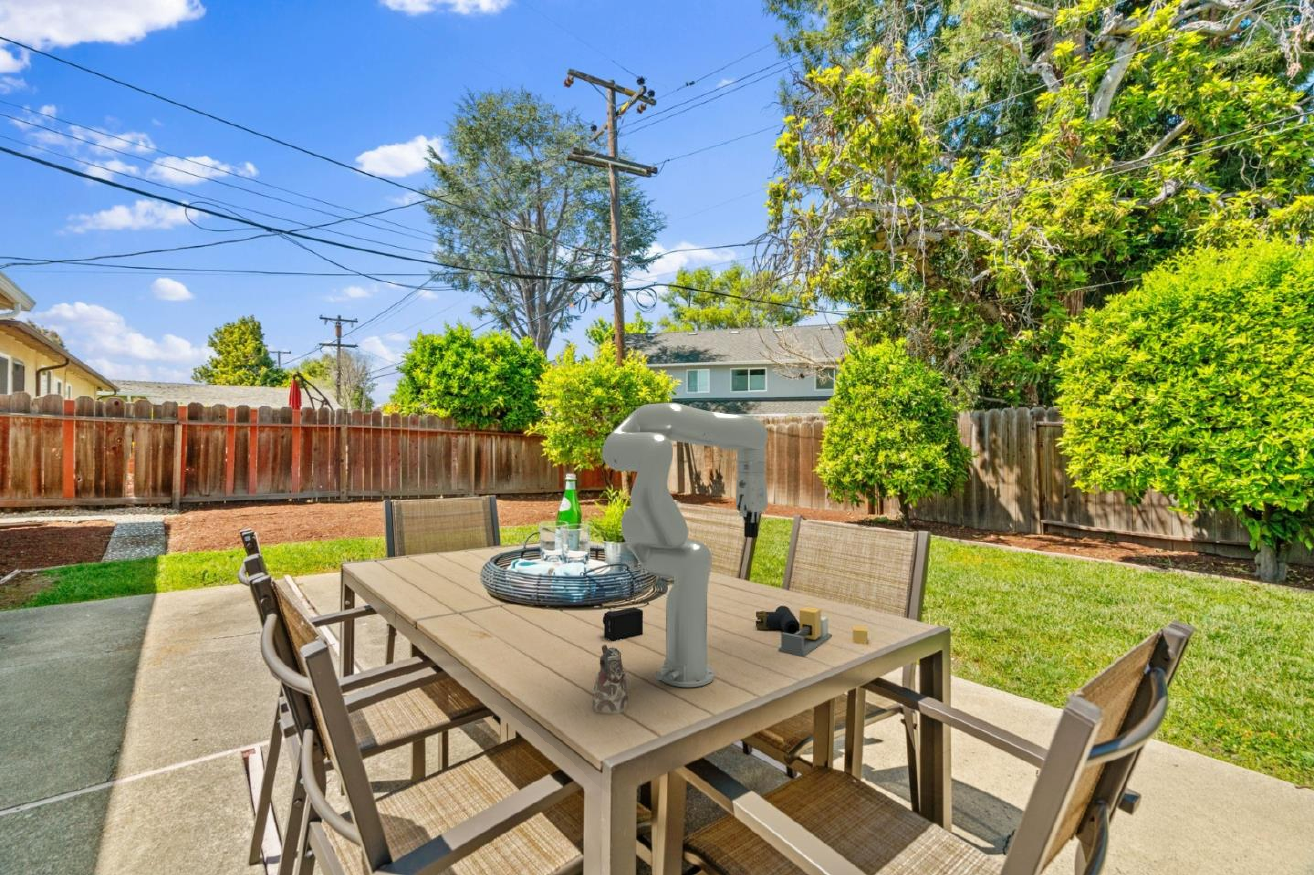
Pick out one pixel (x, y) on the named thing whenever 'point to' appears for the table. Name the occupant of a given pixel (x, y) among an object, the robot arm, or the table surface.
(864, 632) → the mustard yellow cube
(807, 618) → the yellow sliding block
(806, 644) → the grey slider rail base
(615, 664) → the figurine
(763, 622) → the pipe connector
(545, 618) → the table surface
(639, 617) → the digital camera
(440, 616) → the table surface
